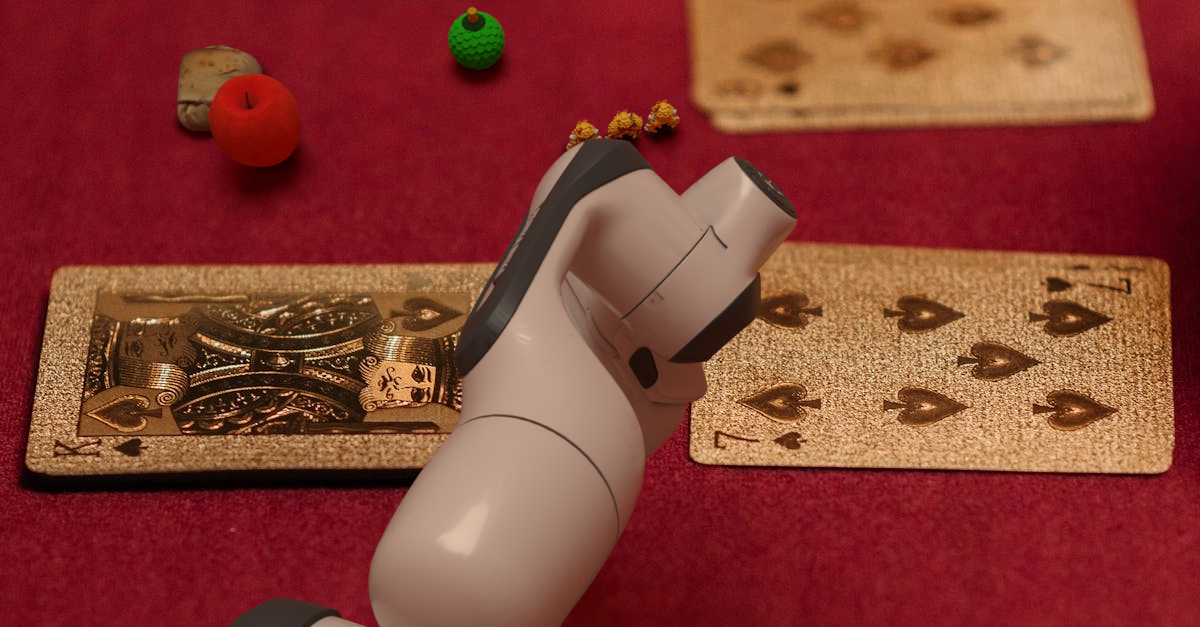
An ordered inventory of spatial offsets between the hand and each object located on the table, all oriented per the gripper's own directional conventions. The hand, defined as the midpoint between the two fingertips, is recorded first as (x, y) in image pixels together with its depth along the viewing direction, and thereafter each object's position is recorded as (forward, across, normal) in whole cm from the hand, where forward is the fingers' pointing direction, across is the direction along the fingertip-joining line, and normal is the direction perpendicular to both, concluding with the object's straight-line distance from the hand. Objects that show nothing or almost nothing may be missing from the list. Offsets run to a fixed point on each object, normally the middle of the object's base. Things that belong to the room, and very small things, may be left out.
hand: (541, 405), depth 99 cm
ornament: (+8, -68, +36) cm, 77 cm away
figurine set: (0, -45, +44) cm, 63 cm away
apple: (+32, -65, +12) cm, 73 cm away
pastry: (+34, -78, +10) cm, 85 cm away
